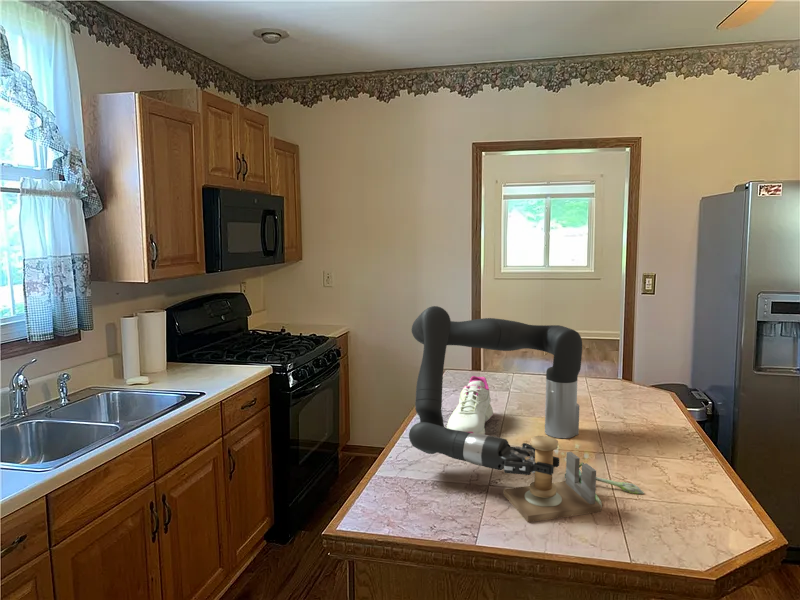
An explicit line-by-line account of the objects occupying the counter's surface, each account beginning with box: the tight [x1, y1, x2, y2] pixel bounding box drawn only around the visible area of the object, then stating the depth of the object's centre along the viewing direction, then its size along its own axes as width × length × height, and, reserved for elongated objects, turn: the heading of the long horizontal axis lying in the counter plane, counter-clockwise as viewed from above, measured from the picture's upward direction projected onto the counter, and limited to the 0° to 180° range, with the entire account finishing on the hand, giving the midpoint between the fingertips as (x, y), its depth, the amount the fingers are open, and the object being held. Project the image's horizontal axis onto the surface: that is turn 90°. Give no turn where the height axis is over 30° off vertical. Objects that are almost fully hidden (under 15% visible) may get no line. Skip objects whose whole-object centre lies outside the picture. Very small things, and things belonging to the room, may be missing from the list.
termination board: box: [503, 451, 602, 523], centre depth 134 cm, size 18×13×10 cm
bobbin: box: [529, 435, 559, 498], centre depth 133 cm, size 6×6×12 cm
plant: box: [564, 461, 645, 508], centre depth 142 cm, size 15×16×6 cm
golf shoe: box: [446, 375, 494, 435], centre depth 181 cm, size 12×33×15 cm, turn 165°
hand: (555, 466), depth 131 cm, fingers closed on bobbin, 4 cm apart
